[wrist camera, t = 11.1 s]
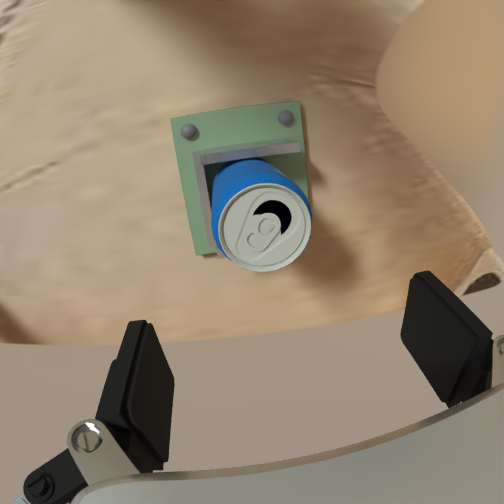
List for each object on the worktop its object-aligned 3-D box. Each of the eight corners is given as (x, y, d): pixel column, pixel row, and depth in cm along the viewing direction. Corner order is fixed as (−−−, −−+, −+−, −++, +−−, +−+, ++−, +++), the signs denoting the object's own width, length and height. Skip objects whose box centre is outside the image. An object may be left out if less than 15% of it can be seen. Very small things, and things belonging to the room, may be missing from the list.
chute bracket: (193, 150, 28) (189, 157, 24) (287, 137, 28) (299, 142, 24) (209, 240, 32) (208, 260, 28) (295, 227, 32) (307, 244, 28)
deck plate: (171, 118, 27) (169, 118, 26) (296, 101, 27) (300, 101, 26) (196, 251, 33) (196, 257, 32) (308, 234, 33) (311, 239, 32)
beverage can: (293, 181, 30) (338, 218, 19) (253, 232, 31) (274, 295, 21) (239, 141, 28) (255, 153, 17) (199, 196, 29) (189, 243, 18)
